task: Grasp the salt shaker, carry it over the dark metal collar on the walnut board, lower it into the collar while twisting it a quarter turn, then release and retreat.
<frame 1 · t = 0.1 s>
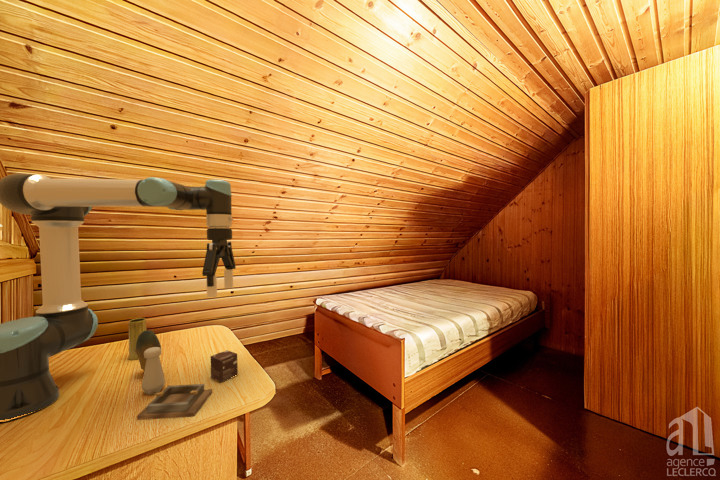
hand: (221, 292, 96), 28 cm above the table, fingers open, 13 cm apart
vase: (138, 357, 111), on the table
box: (224, 377, 96), on the table
salt shaker: (153, 391, 87), on the table
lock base: (177, 405, 80), on the table
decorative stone: (149, 374, 97), on the table
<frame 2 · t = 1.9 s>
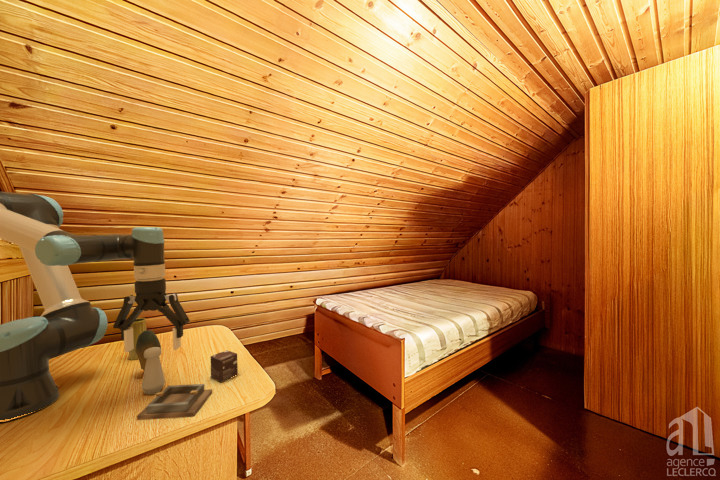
hand: (153, 349, 87), 13 cm above the table, fingers open, 13 cm apart
nothing on the table moved.
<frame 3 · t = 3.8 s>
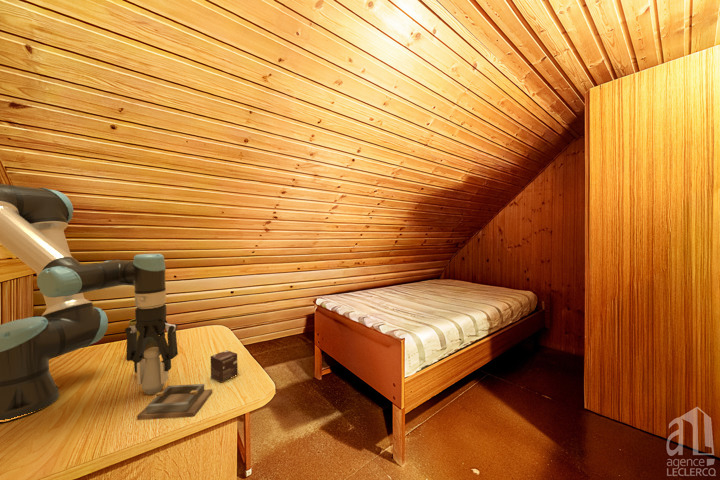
hand: (153, 381, 87), 3 cm above the table, fingers closed on salt shaker, 6 cm apart
salt shaker: (153, 391, 87), on the table, touching gripper
everything else where it was.
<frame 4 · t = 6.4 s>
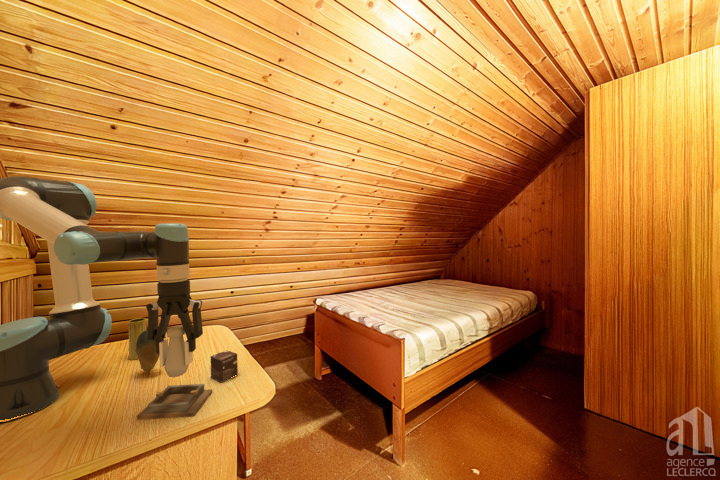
hand: (176, 363, 80), 12 cm above the table, fingers closed on salt shaker, 6 cm apart
salt shaker: (177, 374, 80), point 9 cm above the table, touching gripper
everything else where it was.
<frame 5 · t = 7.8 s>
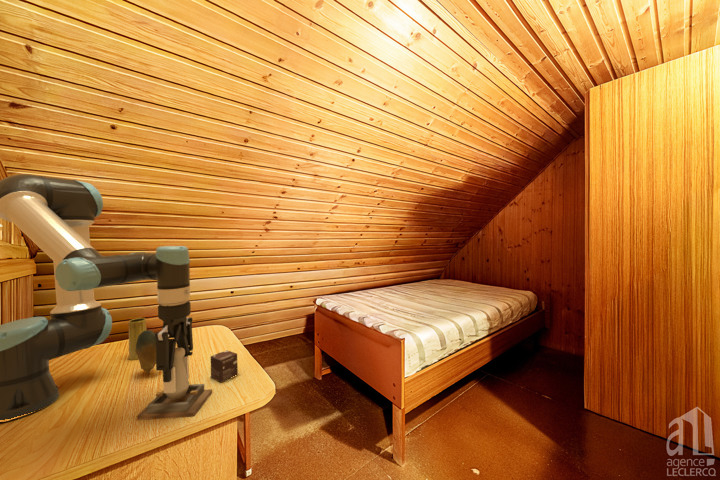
hand: (176, 385, 80), 6 cm above the table, fingers closed on salt shaker, 6 cm apart
salt shaker: (177, 396, 80), point 2 cm above the table, touching gripper
everything else where it was.
when the fingers open (5 cm above the table, at t = 8.9 s): salt shaker drops 1 cm, resting on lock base.
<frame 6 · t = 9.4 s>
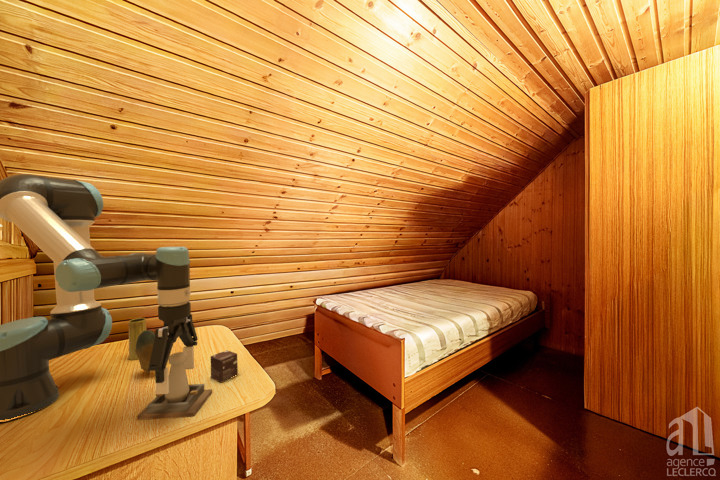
hand: (176, 380, 80), 7 cm above the table, fingers open, 12 cm apart
salt shaker: (177, 401, 80), point 1 cm above the table, touching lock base
everything else where it was.
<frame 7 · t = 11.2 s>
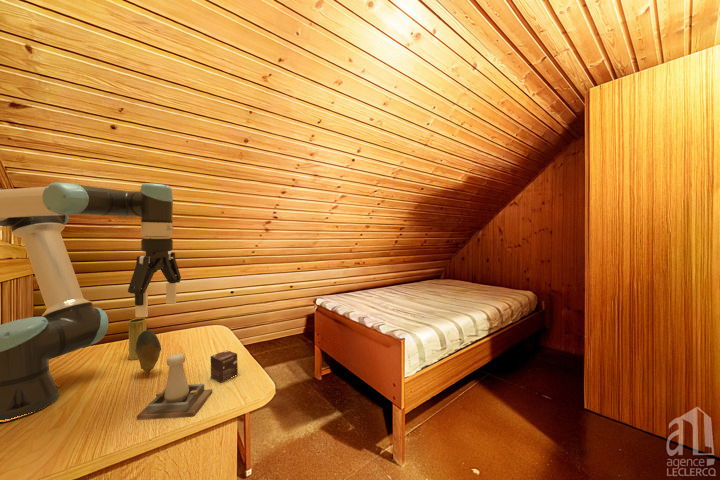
hand: (157, 309, 85), 25 cm above the table, fingers open, 13 cm apart
nothing on the table moved.
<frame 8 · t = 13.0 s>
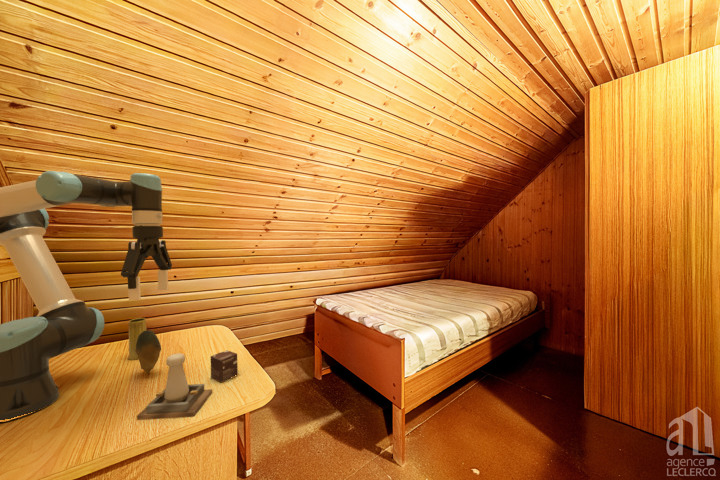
hand: (150, 294, 89), 29 cm above the table, fingers open, 13 cm apart
nothing on the table moved.
at the end: salt shaker 0.1 cm off-centre on the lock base, point 0.8 cm above the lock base's base; salt shaker tilted 0°; the gripper is holding nothing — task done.
